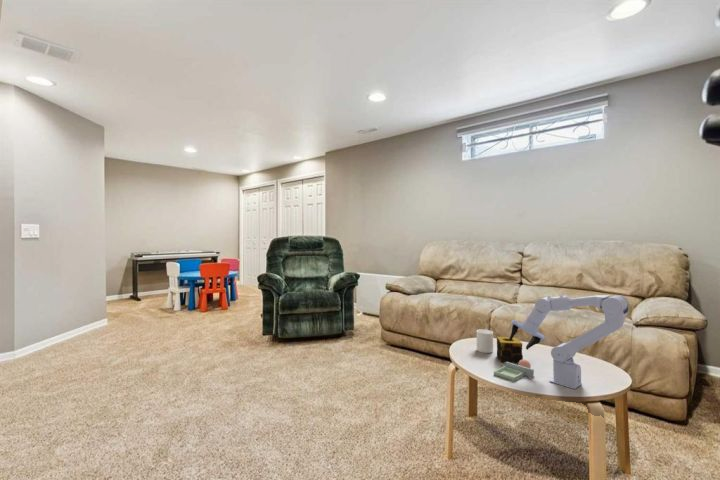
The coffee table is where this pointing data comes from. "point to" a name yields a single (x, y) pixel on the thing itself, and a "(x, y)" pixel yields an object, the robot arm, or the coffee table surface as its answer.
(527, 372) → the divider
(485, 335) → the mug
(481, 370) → the coffee table surface
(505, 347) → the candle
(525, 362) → the ball
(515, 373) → the tray
